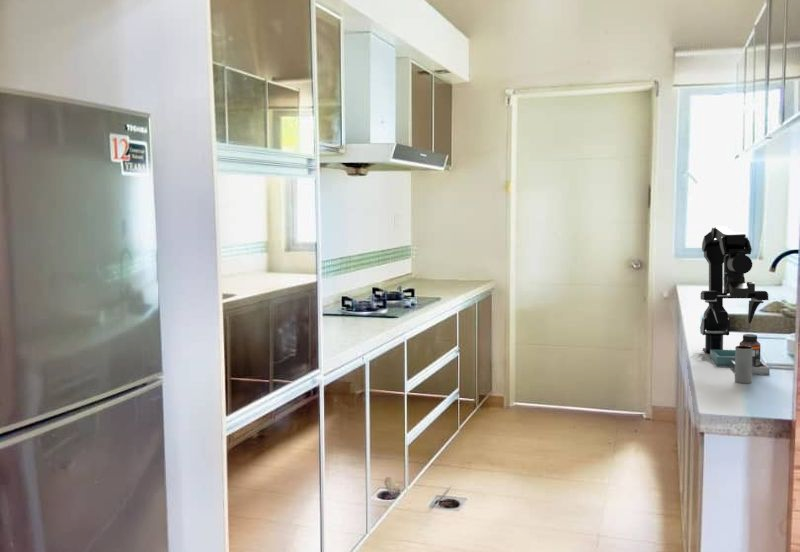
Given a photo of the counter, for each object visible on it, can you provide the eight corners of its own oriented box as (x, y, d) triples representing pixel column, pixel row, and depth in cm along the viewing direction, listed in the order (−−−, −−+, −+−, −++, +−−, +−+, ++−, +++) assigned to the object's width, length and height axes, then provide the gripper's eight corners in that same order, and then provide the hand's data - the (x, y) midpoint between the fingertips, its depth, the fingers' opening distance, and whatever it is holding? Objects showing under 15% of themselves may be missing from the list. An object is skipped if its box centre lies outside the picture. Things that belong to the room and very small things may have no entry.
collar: (730, 367, 237) (730, 360, 236) (761, 367, 235) (761, 360, 234) (736, 373, 228) (737, 366, 227) (769, 374, 226) (769, 367, 225)
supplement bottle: (741, 367, 235) (742, 332, 234) (762, 370, 231) (763, 334, 230) (736, 371, 231) (737, 335, 230) (757, 373, 227) (758, 337, 226)
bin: (710, 358, 250) (710, 349, 249) (747, 359, 247) (747, 350, 247) (717, 366, 238) (717, 356, 238) (756, 366, 236) (756, 357, 236)
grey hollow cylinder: (732, 379, 220) (732, 345, 219) (747, 379, 220) (748, 345, 219) (738, 383, 216) (739, 348, 215) (754, 383, 216) (755, 348, 215)
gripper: (707, 273, 226) (707, 325, 226) (773, 273, 222) (773, 325, 222) (700, 273, 237) (700, 322, 237) (763, 272, 233) (763, 322, 233)
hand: (733, 323), depth 232 cm, fingers open, 9 cm apart
